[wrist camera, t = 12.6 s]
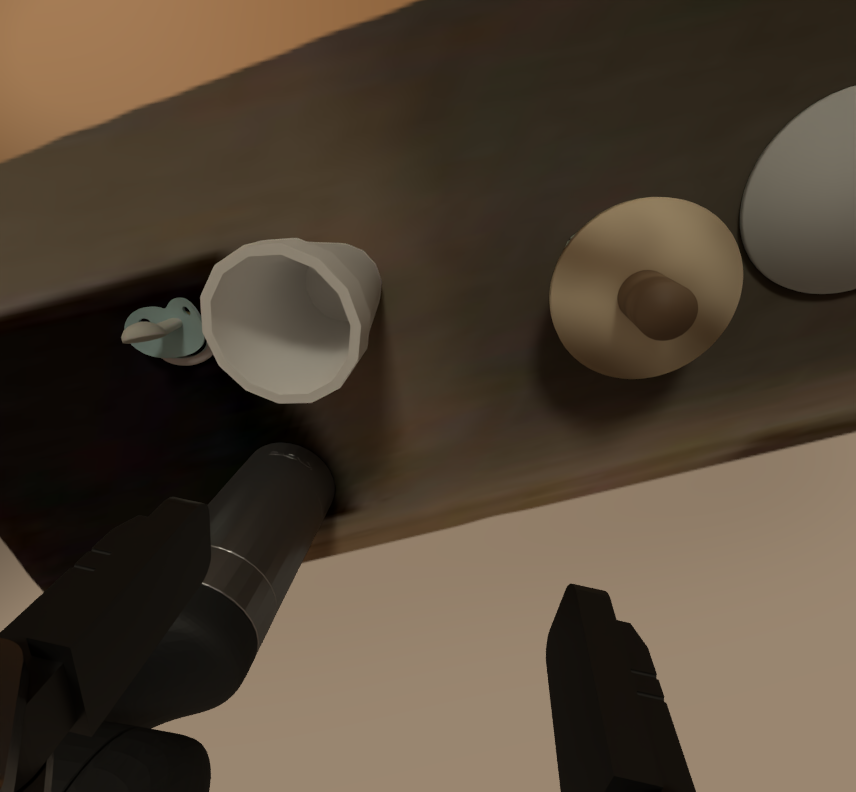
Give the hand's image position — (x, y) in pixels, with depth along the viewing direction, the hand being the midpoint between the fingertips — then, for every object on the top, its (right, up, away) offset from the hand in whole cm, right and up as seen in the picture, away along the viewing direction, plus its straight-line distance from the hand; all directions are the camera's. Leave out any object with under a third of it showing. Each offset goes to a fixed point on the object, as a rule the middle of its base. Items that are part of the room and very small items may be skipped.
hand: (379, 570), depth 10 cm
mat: (+29, +17, +21) cm, 40 cm away
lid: (+15, +11, +21) cm, 28 cm away
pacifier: (-21, +10, +32) cm, 39 cm away
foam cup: (-6, +13, +28) cm, 32 cm away
